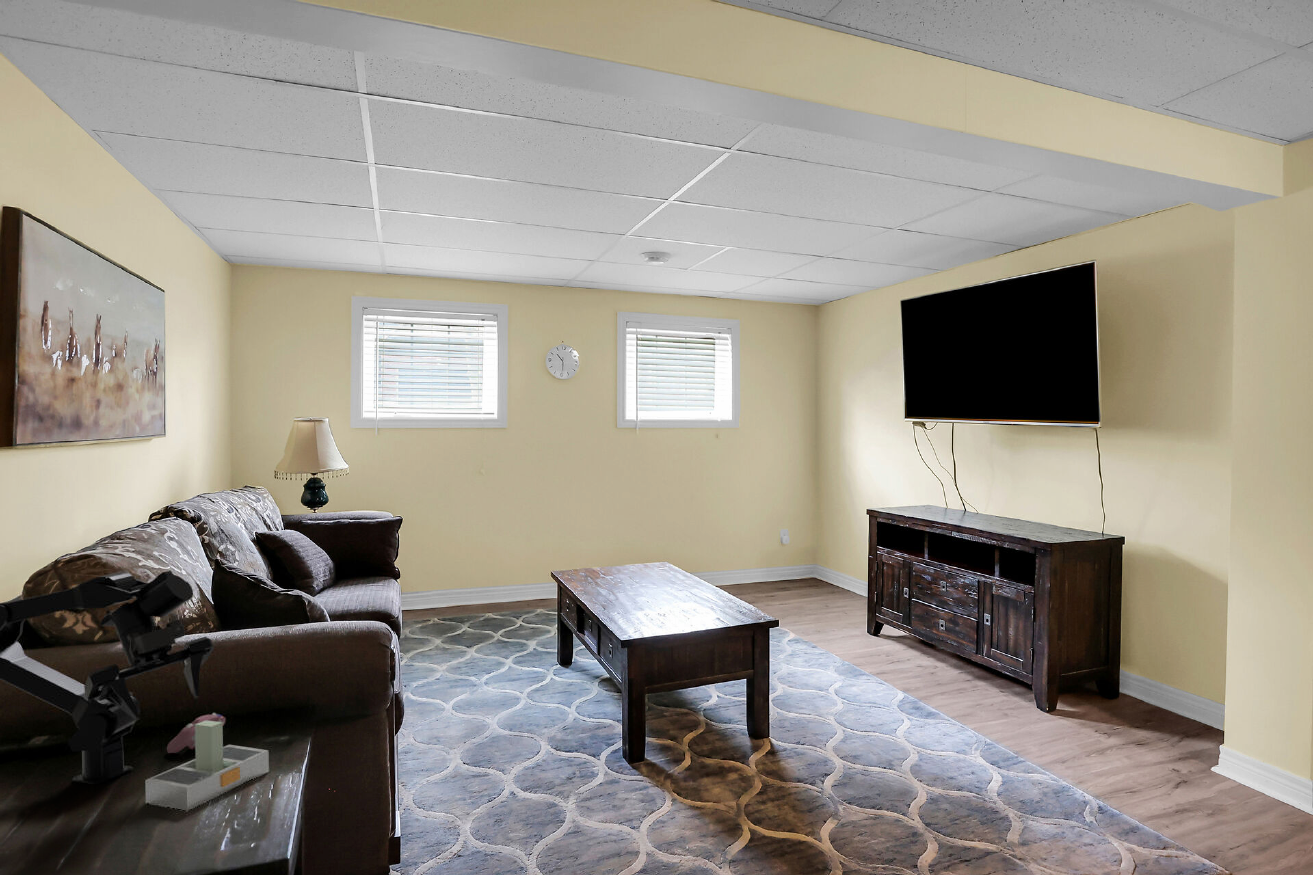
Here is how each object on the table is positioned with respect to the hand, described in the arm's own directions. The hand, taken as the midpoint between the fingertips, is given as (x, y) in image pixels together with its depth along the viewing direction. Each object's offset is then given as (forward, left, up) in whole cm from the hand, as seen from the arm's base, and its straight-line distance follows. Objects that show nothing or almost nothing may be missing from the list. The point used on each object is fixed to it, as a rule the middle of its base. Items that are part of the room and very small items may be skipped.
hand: (168, 707), depth 124 cm
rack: (+8, +1, -13) cm, 16 cm away
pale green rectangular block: (+8, +1, -12) cm, 15 cm away
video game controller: (-13, +14, -14) cm, 24 cm away
